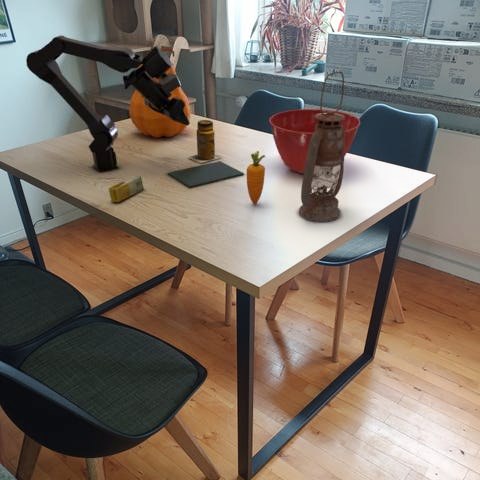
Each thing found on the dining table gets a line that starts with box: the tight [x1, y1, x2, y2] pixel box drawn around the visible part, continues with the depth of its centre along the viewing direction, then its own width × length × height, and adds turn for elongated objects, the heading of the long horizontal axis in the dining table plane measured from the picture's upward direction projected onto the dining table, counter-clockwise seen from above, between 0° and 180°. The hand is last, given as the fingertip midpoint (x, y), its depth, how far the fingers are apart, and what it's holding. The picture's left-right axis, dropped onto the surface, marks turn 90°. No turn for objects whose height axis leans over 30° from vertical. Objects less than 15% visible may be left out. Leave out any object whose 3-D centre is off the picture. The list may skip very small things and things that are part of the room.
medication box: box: [108, 175, 144, 203], centre depth 142 cm, size 12×3×4 cm, turn 152°
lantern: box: [298, 71, 345, 223], centre depth 123 cm, size 11×16×35 cm
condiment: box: [188, 119, 221, 164], centre depth 167 cm, size 7×8×12 cm
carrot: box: [246, 150, 266, 206], centre depth 134 cm, size 5×5×15 cm
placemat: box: [167, 160, 244, 189], centre depth 157 cm, size 20×14×1 cm
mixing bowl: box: [268, 108, 361, 176], centre depth 158 cm, size 28×28×16 cm
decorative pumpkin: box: [128, 46, 192, 139], centre depth 185 cm, size 24×24×30 cm
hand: (182, 120), depth 159 cm, fingers open, 9 cm apart
